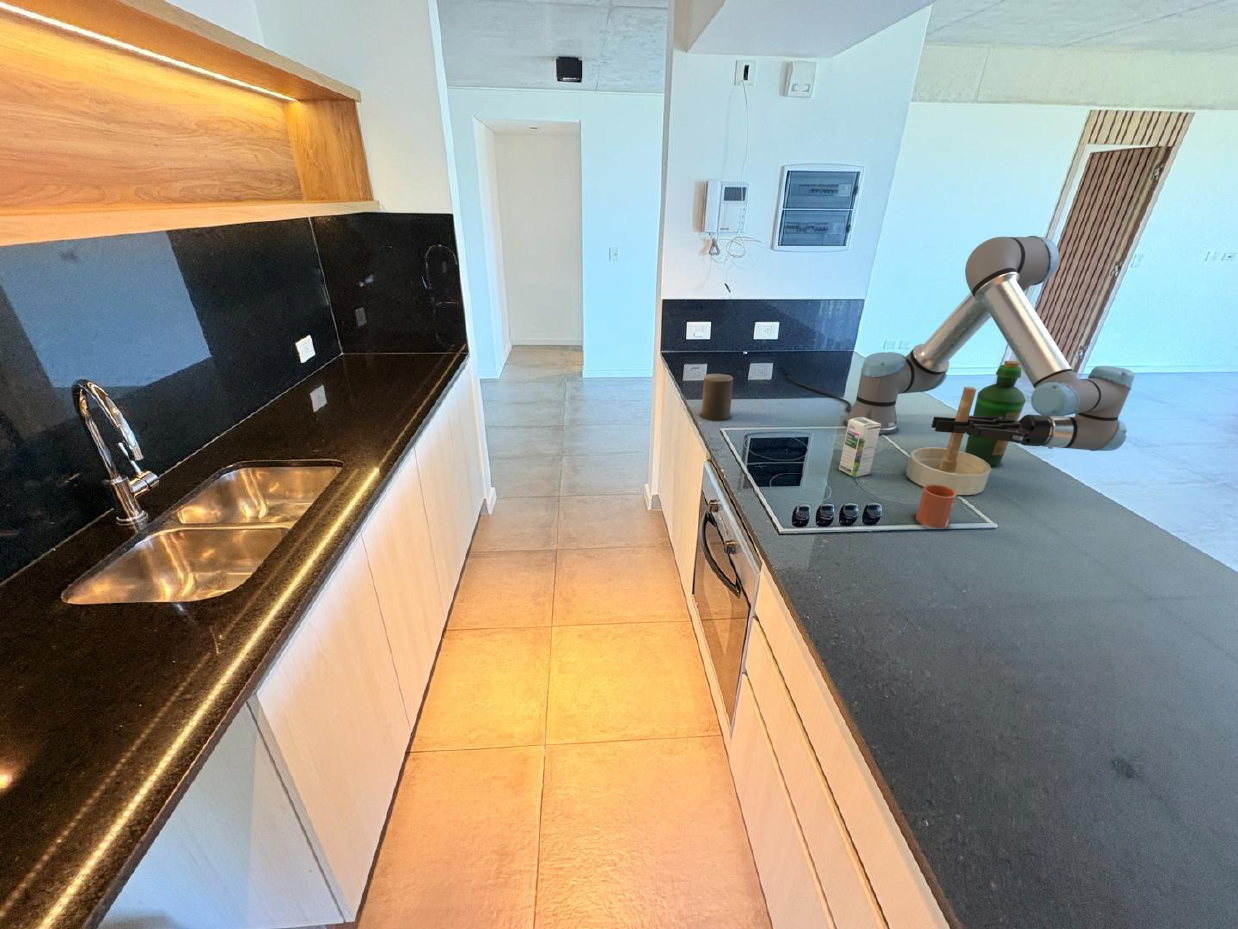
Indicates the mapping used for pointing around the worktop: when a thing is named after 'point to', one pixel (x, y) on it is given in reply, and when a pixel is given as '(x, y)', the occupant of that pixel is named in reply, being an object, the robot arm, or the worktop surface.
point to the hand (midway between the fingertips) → (935, 424)
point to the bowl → (964, 481)
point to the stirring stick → (956, 438)
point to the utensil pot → (935, 506)
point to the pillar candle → (717, 396)
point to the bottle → (997, 411)
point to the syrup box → (859, 446)
